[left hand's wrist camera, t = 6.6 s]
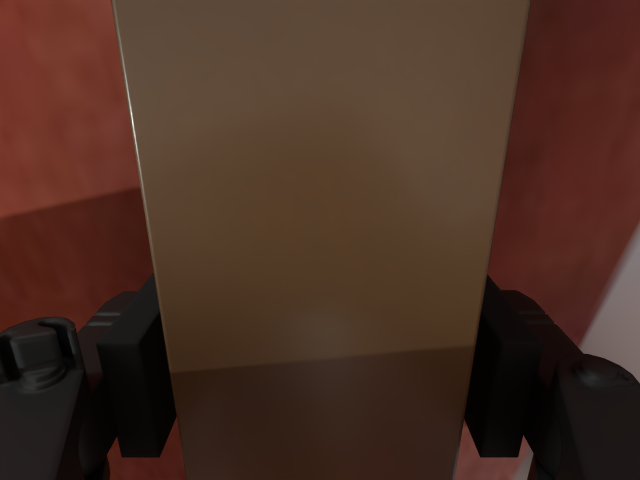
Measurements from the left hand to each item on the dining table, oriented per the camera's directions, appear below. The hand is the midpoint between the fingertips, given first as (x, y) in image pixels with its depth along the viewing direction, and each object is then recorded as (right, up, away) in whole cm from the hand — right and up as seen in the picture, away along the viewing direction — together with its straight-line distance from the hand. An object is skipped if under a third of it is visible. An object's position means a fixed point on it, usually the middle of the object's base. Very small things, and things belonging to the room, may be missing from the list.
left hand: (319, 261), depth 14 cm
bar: (0, +22, -8) cm, 24 cm away
